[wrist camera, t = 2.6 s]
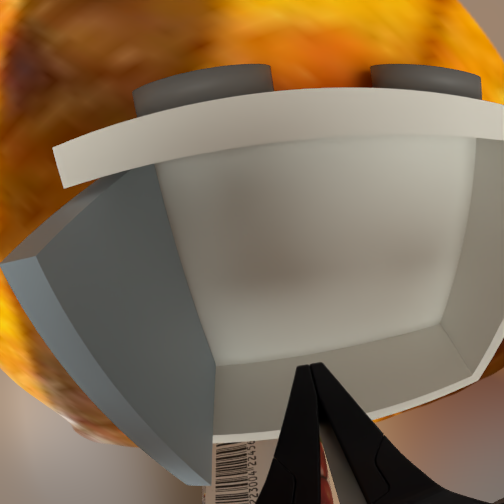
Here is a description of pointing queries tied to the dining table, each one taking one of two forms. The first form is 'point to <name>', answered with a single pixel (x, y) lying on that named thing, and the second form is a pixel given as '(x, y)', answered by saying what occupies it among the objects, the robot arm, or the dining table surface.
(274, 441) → the juice carton
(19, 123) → the dining table surface
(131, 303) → the panel
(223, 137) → the cart
